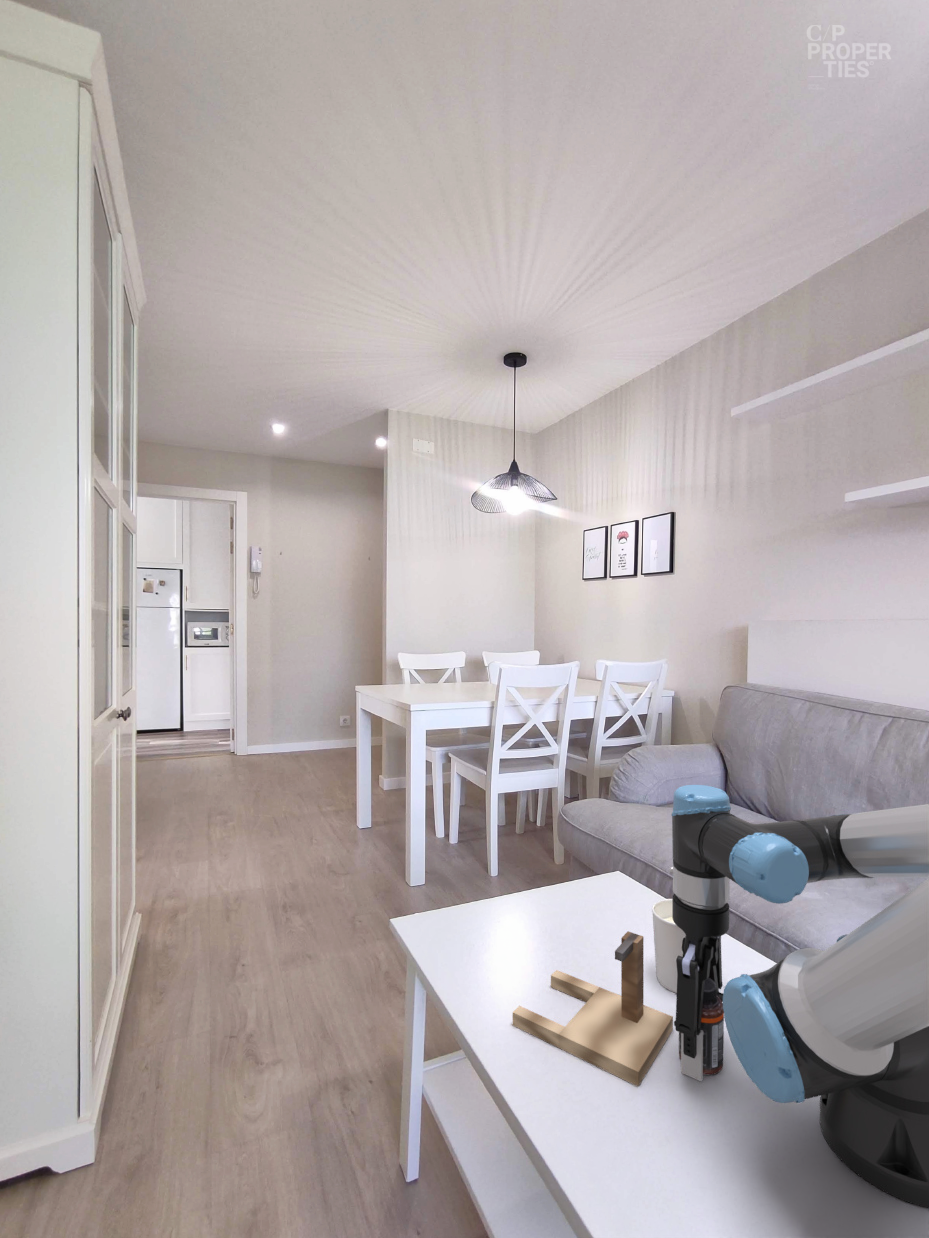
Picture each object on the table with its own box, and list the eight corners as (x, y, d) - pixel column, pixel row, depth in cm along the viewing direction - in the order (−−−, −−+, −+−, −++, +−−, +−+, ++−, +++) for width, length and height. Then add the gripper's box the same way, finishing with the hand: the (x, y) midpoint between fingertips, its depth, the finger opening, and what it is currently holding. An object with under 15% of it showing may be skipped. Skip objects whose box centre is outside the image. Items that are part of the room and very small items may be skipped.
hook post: (643, 1014, 92) (643, 936, 92) (627, 1037, 87) (626, 955, 87) (627, 1008, 93) (627, 931, 93) (610, 1030, 88) (610, 949, 88)
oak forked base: (672, 1029, 91) (672, 1016, 91) (638, 1086, 80) (638, 1071, 80) (556, 981, 103) (556, 969, 103) (512, 1025, 92) (512, 1012, 92)
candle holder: (717, 1002, 98) (717, 929, 98) (655, 994, 100) (655, 923, 100) (706, 968, 107) (706, 901, 107) (649, 961, 109) (649, 896, 109)
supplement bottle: (670, 1060, 85) (670, 980, 85) (690, 1040, 89) (690, 964, 89) (712, 1084, 81) (712, 1000, 81) (731, 1062, 85) (731, 982, 85)
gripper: (694, 867, 95) (693, 1011, 95) (649, 917, 79) (648, 1090, 79) (745, 880, 90) (744, 1031, 90) (708, 935, 75) (707, 1119, 75)
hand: (699, 1058), depth 85 cm, fingers open, 7 cm apart
